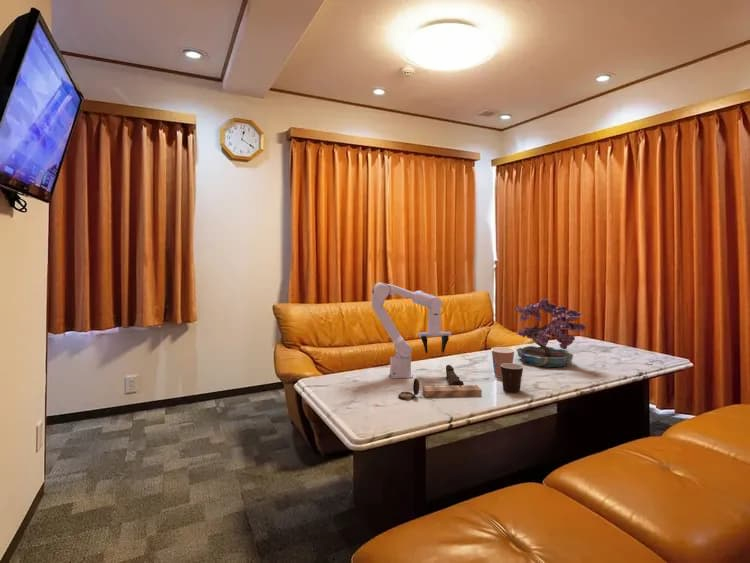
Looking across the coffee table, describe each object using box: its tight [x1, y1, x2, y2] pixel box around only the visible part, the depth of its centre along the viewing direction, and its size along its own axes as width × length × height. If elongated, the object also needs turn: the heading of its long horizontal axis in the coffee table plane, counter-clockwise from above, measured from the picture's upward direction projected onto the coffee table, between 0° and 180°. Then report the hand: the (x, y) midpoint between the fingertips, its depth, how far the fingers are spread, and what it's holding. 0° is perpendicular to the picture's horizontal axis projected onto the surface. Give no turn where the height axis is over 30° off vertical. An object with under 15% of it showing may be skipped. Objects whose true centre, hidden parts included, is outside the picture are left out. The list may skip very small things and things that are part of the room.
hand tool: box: [445, 364, 464, 386], centre depth 176 cm, size 23×5×6 cm, turn 178°
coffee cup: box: [490, 346, 516, 379], centre depth 186 cm, size 10×10×12 cm
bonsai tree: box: [515, 298, 586, 368], centre depth 205 cm, size 35×27×32 cm
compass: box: [397, 378, 420, 401], centre depth 157 cm, size 8×8×7 cm
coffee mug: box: [501, 362, 524, 394], centre depth 165 cm, size 12×9×10 cm
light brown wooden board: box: [422, 384, 483, 399], centre depth 162 cm, size 22×6×3 cm, turn 93°
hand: (434, 352), depth 188 cm, fingers open, 7 cm apart
